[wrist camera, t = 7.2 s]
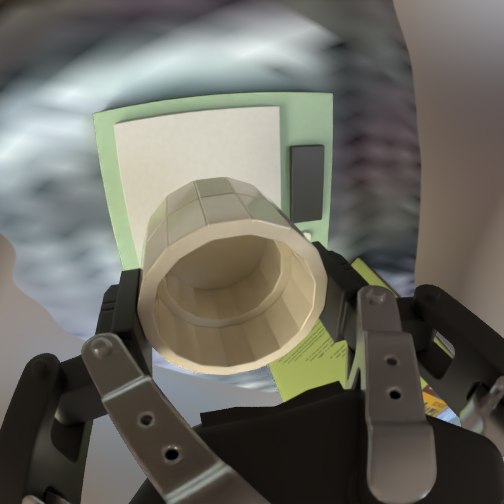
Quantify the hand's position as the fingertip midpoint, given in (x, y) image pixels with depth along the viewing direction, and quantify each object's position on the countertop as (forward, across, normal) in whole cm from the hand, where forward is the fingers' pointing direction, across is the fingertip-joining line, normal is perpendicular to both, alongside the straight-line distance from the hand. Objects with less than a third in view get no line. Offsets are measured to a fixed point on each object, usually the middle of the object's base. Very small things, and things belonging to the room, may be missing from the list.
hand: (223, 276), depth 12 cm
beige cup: (+2, 0, 0) cm, 2 cm away
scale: (+13, -2, 0) cm, 14 cm away
